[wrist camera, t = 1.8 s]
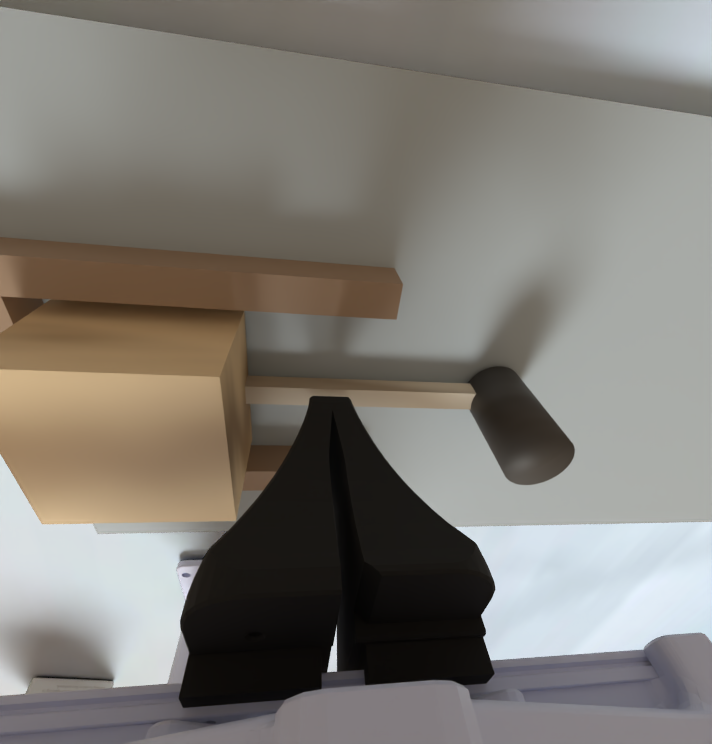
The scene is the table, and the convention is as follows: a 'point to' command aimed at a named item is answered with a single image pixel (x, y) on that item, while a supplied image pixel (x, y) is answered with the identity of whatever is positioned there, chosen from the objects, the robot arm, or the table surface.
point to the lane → (381, 249)
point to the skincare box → (65, 685)
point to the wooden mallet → (193, 412)
